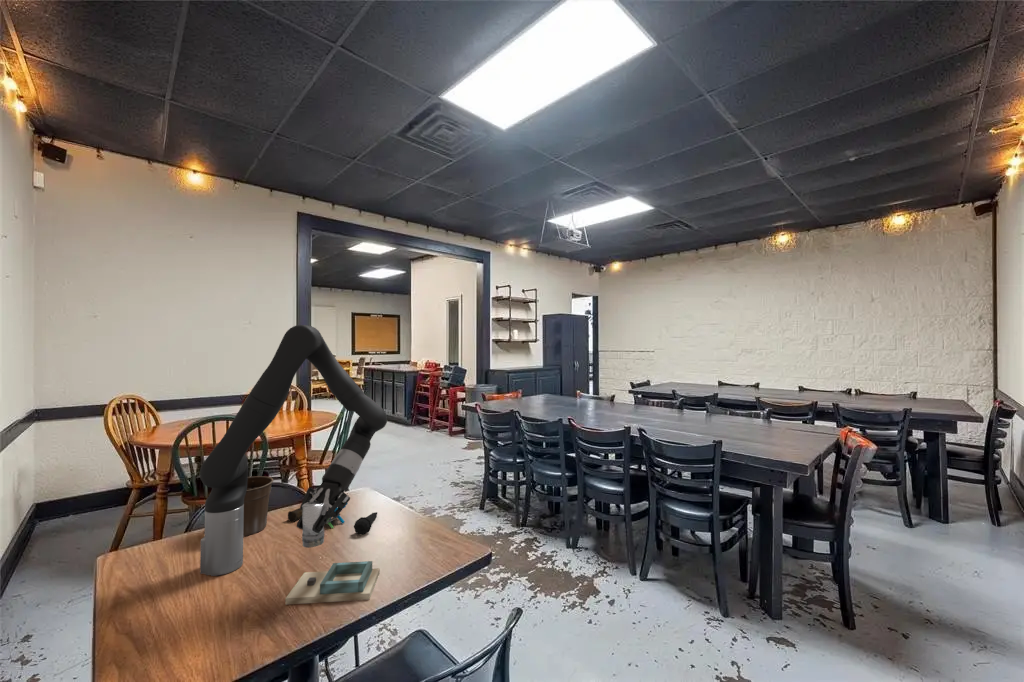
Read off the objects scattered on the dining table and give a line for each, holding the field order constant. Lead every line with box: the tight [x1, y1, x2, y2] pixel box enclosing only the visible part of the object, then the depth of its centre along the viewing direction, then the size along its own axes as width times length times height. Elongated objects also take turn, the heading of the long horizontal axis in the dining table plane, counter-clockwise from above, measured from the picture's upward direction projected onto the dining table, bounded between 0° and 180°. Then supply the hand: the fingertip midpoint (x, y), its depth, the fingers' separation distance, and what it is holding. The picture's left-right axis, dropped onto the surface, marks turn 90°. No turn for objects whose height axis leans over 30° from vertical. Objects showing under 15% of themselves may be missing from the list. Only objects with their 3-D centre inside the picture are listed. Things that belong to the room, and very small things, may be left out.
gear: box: [325, 502, 349, 529], centre depth 150 cm, size 11×6×10 cm
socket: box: [301, 501, 325, 548], centre depth 108 cm, size 5×5×10 cm
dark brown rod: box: [287, 507, 302, 523], centre depth 160 cm, size 19×4×5 cm, turn 156°
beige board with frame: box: [284, 560, 381, 606], centre depth 109 cm, size 20×12×4 cm, turn 96°
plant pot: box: [243, 475, 274, 537], centre depth 144 cm, size 16×16×16 cm
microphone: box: [353, 511, 378, 535], centre depth 149 cm, size 6×6×20 cm
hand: (307, 529), depth 106 cm, fingers closed on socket, 5 cm apart
